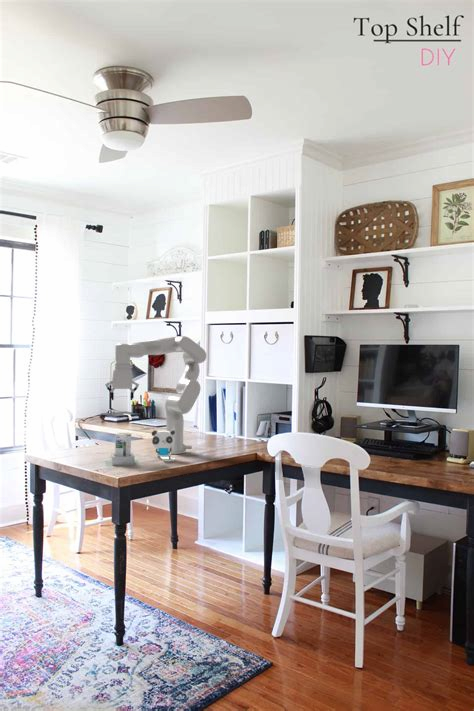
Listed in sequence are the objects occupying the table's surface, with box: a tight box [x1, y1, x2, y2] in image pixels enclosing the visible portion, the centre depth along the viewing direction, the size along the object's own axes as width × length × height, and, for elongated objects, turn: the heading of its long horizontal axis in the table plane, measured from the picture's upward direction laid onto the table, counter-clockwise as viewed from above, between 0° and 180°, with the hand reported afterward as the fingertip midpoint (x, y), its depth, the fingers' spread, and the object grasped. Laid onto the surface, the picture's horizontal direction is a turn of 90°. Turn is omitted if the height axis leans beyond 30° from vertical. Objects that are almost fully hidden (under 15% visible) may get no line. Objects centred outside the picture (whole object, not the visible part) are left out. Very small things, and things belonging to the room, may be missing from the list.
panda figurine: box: [151, 429, 176, 462], centre depth 312 cm, size 12×11×15 cm
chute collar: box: [110, 452, 136, 465], centre depth 292 cm, size 10×10×4 cm
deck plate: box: [104, 459, 141, 467], centre depth 292 cm, size 16×14×2 cm
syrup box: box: [114, 432, 132, 457], centre depth 292 cm, size 6×6×14 cm
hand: (122, 400), depth 314 cm, fingers open, 9 cm apart
